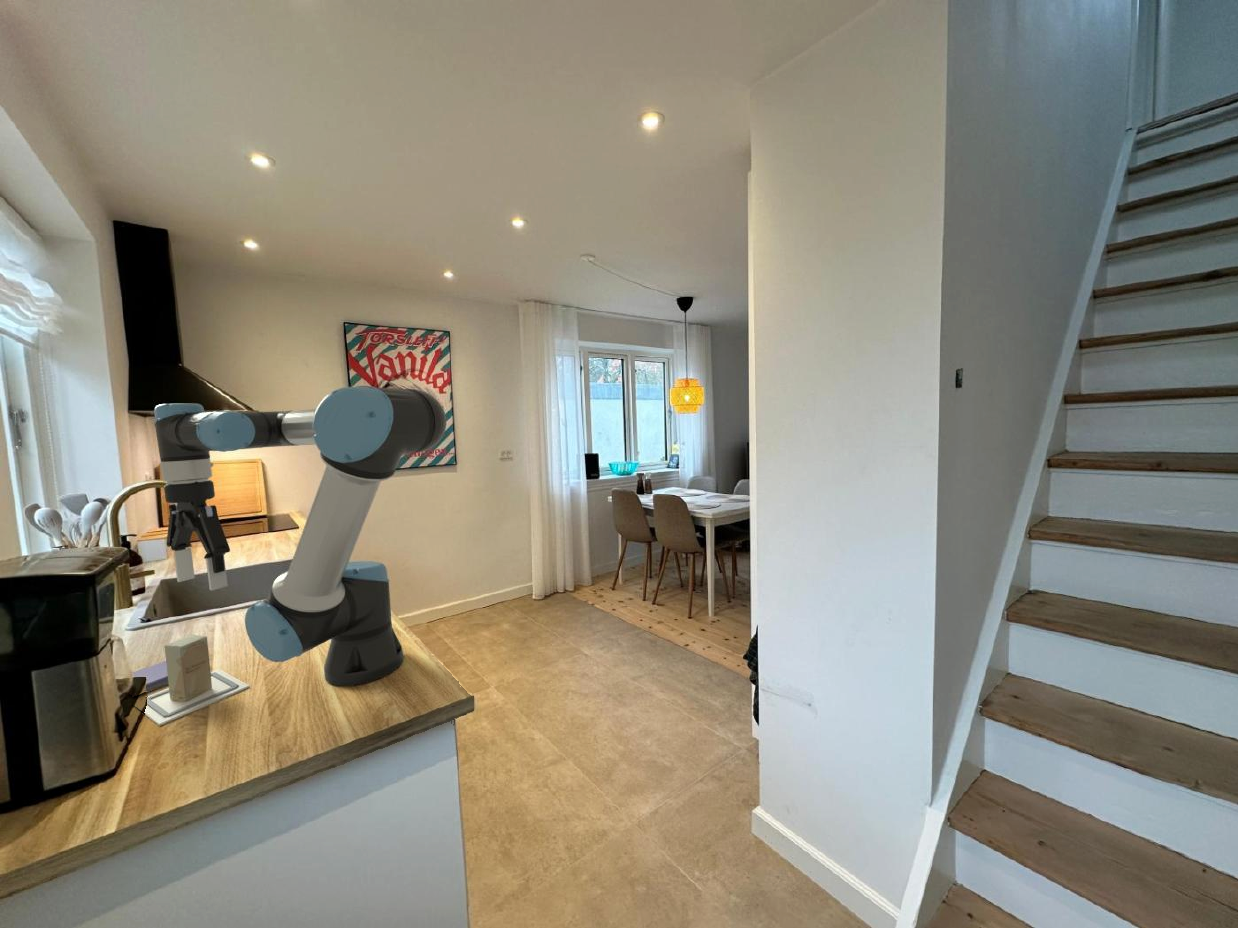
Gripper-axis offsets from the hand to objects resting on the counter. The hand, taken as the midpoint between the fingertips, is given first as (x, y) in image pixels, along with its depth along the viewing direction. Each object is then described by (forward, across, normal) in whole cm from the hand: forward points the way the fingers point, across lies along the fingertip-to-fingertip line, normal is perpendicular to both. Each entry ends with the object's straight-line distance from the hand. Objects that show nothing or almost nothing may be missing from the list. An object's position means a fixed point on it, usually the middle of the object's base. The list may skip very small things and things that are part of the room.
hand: (202, 583), depth 100 cm
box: (+21, -2, +5) cm, 21 cm away
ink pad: (+21, +13, +5) cm, 25 cm away
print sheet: (+21, -2, +5) cm, 22 cm away
